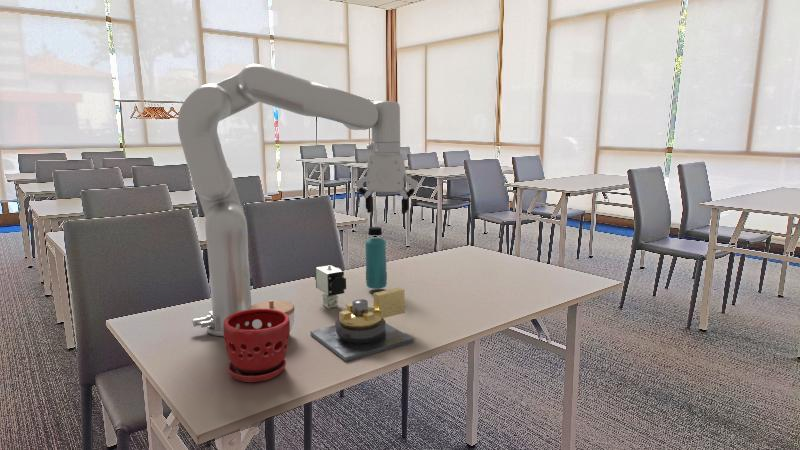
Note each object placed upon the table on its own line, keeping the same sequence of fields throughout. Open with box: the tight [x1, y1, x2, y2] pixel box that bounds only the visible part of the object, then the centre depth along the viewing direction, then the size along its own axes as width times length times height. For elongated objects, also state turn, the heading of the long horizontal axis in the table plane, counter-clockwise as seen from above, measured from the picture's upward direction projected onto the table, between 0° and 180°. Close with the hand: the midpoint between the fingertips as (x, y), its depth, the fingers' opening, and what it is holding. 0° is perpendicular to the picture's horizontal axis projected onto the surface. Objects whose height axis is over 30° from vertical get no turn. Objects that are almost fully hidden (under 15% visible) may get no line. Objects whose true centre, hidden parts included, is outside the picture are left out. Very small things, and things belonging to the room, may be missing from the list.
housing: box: [310, 318, 414, 362], centre depth 125 cm, size 18×18×4 cm
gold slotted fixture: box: [338, 287, 405, 330], centre depth 126 cm, size 17×10×6 cm, turn 124°
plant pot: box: [223, 309, 291, 383], centre depth 107 cm, size 13×13×12 cm
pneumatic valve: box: [314, 264, 347, 310], centre depth 147 cm, size 6×12×12 cm, turn 32°
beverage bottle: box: [365, 226, 388, 290], centre depth 161 cm, size 6×7×20 cm
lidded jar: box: [249, 299, 295, 332], centre depth 126 cm, size 11×11×9 cm
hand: (387, 212), depth 141 cm, fingers open, 9 cm apart
